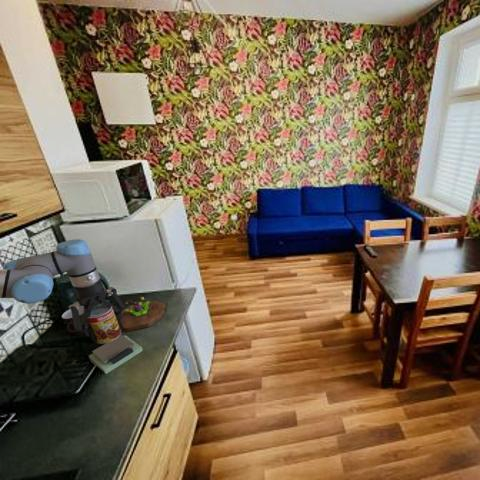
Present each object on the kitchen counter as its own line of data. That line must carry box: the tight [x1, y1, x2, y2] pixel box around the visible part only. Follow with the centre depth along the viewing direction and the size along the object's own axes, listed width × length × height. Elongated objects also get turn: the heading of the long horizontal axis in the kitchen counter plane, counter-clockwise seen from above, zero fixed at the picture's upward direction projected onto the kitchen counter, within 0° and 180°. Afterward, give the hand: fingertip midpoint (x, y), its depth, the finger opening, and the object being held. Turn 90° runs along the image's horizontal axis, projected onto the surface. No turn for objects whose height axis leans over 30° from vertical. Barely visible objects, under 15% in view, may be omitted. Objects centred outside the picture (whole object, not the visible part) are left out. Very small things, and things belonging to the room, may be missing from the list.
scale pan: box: [91, 334, 135, 364], centre depth 104 cm, size 10×10×1 cm
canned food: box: [88, 303, 122, 345], centre depth 99 cm, size 8×8×12 cm
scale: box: [88, 335, 144, 375], centre depth 105 cm, size 13×13×5 cm
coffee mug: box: [61, 305, 85, 336], centre depth 116 cm, size 12×9×10 cm
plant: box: [120, 296, 167, 333], centre depth 126 cm, size 20×20×11 cm
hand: (107, 333), depth 101 cm, fingers closed on canned food, 8 cm apart
